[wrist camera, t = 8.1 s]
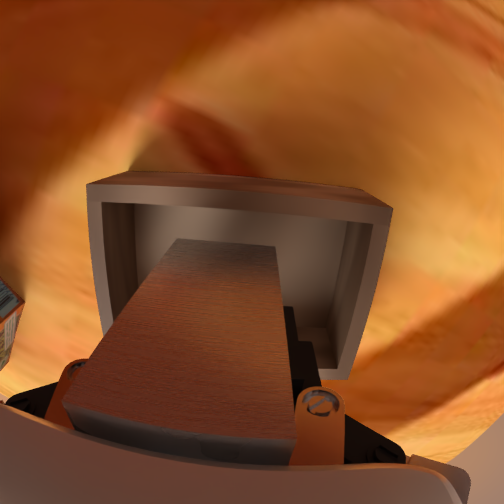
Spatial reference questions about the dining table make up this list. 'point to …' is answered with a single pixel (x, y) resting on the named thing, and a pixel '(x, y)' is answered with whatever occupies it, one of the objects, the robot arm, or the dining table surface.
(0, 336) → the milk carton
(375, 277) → the open box
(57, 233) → the dining table surface
